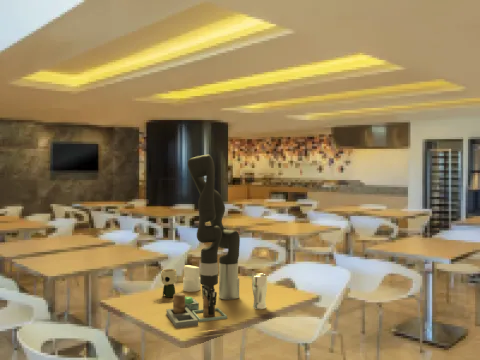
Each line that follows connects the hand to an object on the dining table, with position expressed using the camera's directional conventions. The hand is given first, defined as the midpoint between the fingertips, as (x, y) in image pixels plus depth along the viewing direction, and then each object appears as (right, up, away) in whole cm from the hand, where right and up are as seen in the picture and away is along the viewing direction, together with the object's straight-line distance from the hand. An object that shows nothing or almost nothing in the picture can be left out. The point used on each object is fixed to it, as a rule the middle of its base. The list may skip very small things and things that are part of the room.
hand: (209, 312), depth 194 cm
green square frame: (0, -2, 0) cm, 2 cm away
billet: (0, -2, 0) cm, 2 cm away
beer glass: (+22, -2, +15) cm, 27 cm away
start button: (-10, -2, +10) cm, 14 cm away
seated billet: (-13, -1, 0) cm, 13 cm away
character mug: (-22, -2, +32) cm, 39 cm away
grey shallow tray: (-11, -2, -5) cm, 12 cm away
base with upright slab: (-12, -1, +46) cm, 47 cm away
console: (-10, -2, +10) cm, 15 cm away
